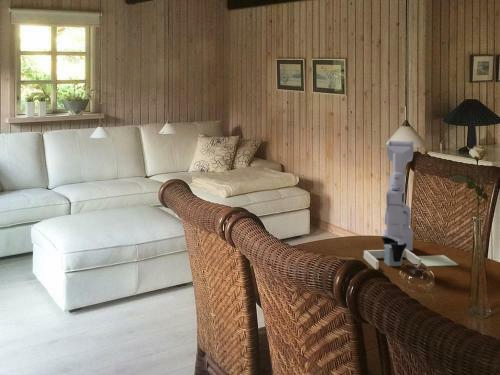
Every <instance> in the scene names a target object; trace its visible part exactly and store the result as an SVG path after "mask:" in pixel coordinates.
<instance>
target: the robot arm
mask: <svg viewBox="0 0 500 375" xmlns="http://www.w3.org/2000/svg"><path fill="white" fill-rule="evenodd" d="M414 145H415V144H414V141H413V140H408V141H407V140H388V141H387V148H386V156H387V159H388V161H390V162H392V163H393V164H392V165H393V167H392V169H393V170H392V172H393V173H392V174H390V175H389V178H388V179H389V180H388V191H386V196H385V202H386V203H385V205H386V208H385V213H384V225H385V227H386V229H384V233H383V235H382V237H381V240H382V242H383V246H384V247H385V244H391V247H392V250H393V259H394V262H400V260H401V257H402V253H403V251H404V249H407V250H409V251H414V248H413V242H414V241H413V240H414V232H413V229H412V227H411V207H410V206H408V205H407V204H406V189H405V188H406V186H405V185H406V168H407V165H408V163H409V162H412V161H413V157H414V147H415V146H414ZM402 258H403V257H402Z"/></svg>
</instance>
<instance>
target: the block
mask: <svg viewBox="0 0 500 375" xmlns="http://www.w3.org/2000/svg"><path fill="white" fill-rule="evenodd" d="M384 250H385V253H384V258H383V262H384V264H385V265H387V266H388V267H401V266H403V257H401V260H400V262H394V259H393V250H392V247H391V244H385V246H384ZM402 254H403V253H402Z"/></svg>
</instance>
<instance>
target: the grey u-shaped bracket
mask: <svg viewBox="0 0 500 375" xmlns="http://www.w3.org/2000/svg"><path fill="white" fill-rule="evenodd" d="M384 253H385V249H369V250H363V259H364V260H365V261H366V262H367V263H368V264H369V265H370V266H371V267H373V269H375V270H379V269H380V268H379V266H380V265H379V262H380V261H379V260H378V259H384ZM417 256H418V255H416V254H415V253H413V252H411V250H407V249H404V251H403V254H402V258H405V259H407V260H408V261H409V262H410V263H411V264H413V265H414V264H418V265H421V266H422V263H421V259H420V258H419V257H417Z"/></svg>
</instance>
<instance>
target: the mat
mask: <svg viewBox="0 0 500 375" xmlns="http://www.w3.org/2000/svg"><path fill="white" fill-rule="evenodd" d="M416 256H417V257H419V258H420V259H421V264H423V265H424V266H426V268H427V267H429V268H430V267H447V266H448V267H449V266H459V263H456V262H455V261H453V260H452V259H451V258H449V257H447V256H446V255H444V254H443V255H442V254H441V255H439V254H438V255H436V254H435V255H416Z"/></svg>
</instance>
